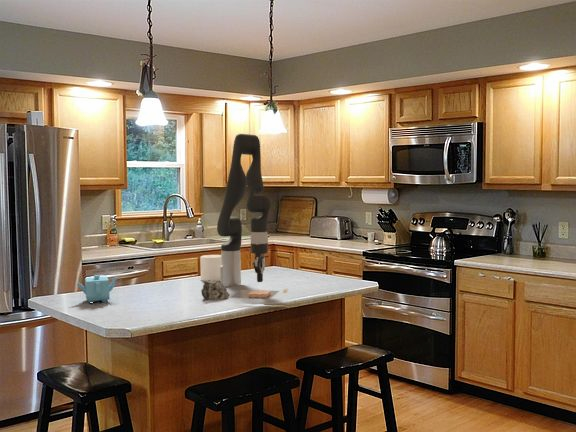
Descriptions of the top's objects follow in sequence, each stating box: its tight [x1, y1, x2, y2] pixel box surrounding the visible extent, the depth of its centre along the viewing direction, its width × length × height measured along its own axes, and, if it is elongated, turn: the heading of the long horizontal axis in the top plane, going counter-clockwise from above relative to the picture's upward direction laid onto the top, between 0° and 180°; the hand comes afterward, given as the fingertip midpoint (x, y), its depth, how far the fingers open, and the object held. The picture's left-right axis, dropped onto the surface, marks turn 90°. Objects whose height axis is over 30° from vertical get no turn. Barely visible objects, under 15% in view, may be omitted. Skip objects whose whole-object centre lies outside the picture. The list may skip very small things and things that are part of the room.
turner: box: [281, 288, 289, 294], centre depth 285 cm, size 16×4×1 cm, turn 173°
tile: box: [248, 289, 272, 299], centre depth 277 cm, size 8×2×8 cm
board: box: [229, 289, 280, 300], centre depth 282 cm, size 18×18×1 cm
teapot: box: [76, 274, 120, 303], centre depth 275 cm, size 16×18×11 cm
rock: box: [201, 280, 231, 301], centre depth 276 cm, size 13×10×10 cm
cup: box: [199, 254, 222, 282], centre depth 327 cm, size 12×12×12 cm
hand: (259, 281), depth 278 cm, fingers closed
